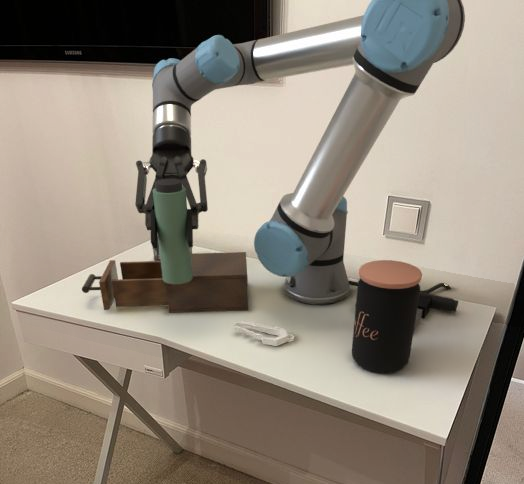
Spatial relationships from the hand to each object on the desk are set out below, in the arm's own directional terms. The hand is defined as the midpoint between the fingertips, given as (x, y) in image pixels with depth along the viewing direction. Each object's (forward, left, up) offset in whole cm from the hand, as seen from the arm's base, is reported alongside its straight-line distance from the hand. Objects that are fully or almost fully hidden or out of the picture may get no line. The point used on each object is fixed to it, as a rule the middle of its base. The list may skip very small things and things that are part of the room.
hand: (172, 244), depth 100 cm
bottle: (+1, -3, -8) cm, 9 cm away
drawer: (+17, -12, -19) cm, 28 cm away
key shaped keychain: (-16, -4, -20) cm, 26 cm away
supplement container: (+19, -37, -20) cm, 46 cm away
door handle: (-43, -22, -20) cm, 52 cm away
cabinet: (+1, -18, -19) cm, 26 cm away
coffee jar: (-40, -2, -20) cm, 45 cm away
